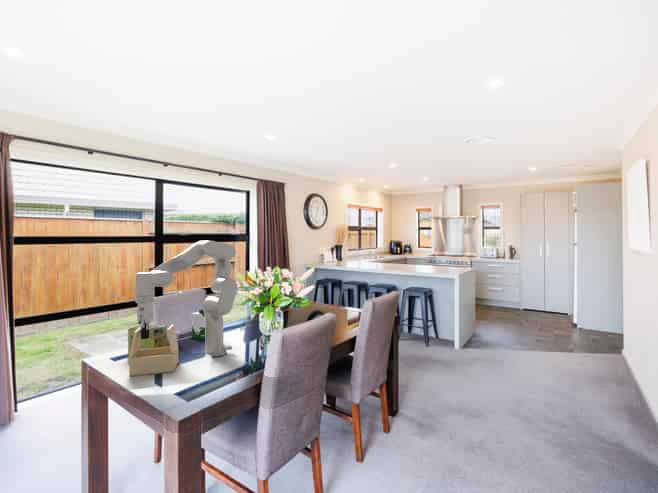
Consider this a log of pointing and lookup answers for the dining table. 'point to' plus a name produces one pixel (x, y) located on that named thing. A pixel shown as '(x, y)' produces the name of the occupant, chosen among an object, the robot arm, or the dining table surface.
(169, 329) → the flap
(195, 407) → the dining table surface
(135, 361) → the carton
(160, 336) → the protein box
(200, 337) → the milk carton
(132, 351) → the flap
